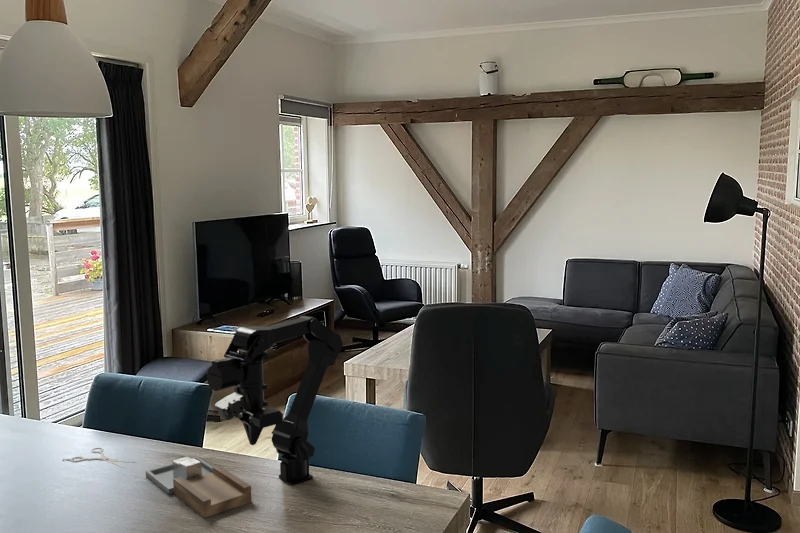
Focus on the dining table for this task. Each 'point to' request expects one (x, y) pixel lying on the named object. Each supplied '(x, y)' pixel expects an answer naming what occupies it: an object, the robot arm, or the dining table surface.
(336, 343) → the robot arm
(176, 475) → the grey metal cube
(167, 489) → the tray
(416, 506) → the dining table surface
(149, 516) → the dining table surface
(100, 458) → the scissors
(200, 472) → the brushed metal block
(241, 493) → the slot block
